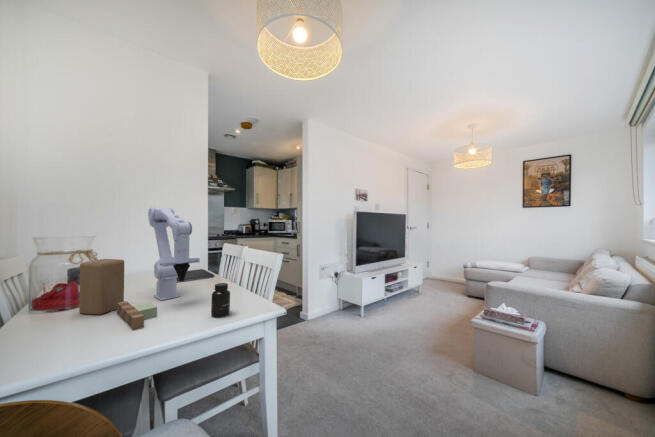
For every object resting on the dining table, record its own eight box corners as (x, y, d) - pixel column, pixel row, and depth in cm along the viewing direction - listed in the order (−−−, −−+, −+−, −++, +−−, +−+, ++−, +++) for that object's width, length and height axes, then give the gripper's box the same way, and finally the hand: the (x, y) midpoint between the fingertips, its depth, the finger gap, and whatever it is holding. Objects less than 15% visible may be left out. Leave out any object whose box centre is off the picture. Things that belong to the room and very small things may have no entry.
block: (124, 306, 104) (125, 259, 104) (101, 315, 95) (101, 263, 94) (103, 305, 105) (104, 258, 105) (77, 314, 96) (78, 262, 95)
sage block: (131, 316, 95) (131, 305, 95) (150, 311, 100) (150, 301, 100) (137, 322, 90) (137, 311, 90) (156, 317, 95) (157, 306, 95)
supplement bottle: (225, 318, 95) (225, 287, 95) (207, 317, 95) (208, 286, 95) (232, 311, 102) (233, 282, 102) (216, 310, 102) (216, 281, 102)
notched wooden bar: (116, 313, 97) (117, 302, 97) (126, 310, 100) (126, 301, 100) (133, 330, 84) (133, 318, 84) (143, 327, 86) (144, 315, 86)
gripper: (166, 252, 100) (165, 286, 100) (202, 249, 111) (202, 279, 111) (160, 250, 104) (159, 282, 104) (196, 247, 115) (195, 276, 116)
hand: (181, 280), depth 108 cm, fingers closed
